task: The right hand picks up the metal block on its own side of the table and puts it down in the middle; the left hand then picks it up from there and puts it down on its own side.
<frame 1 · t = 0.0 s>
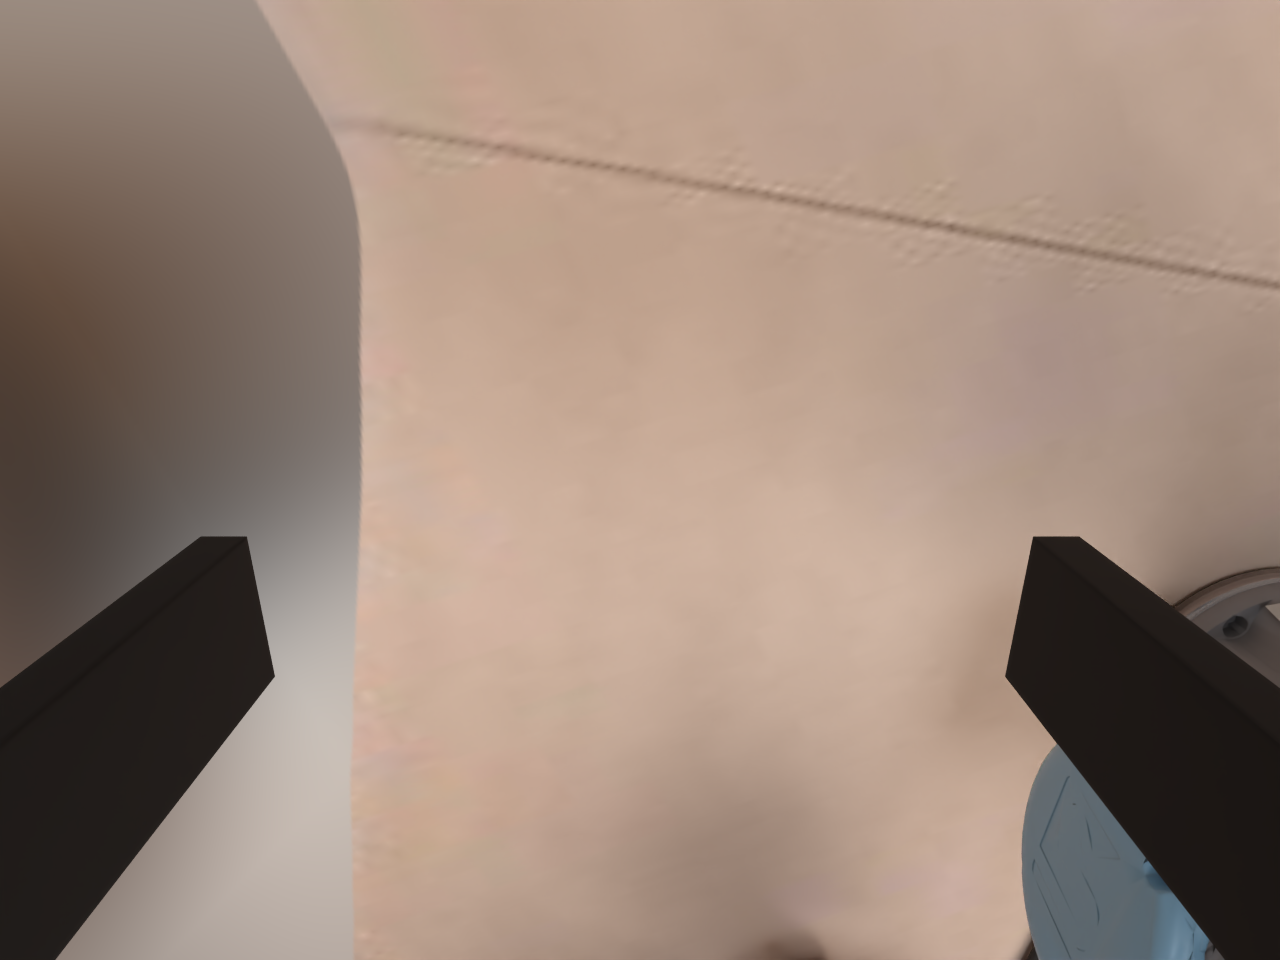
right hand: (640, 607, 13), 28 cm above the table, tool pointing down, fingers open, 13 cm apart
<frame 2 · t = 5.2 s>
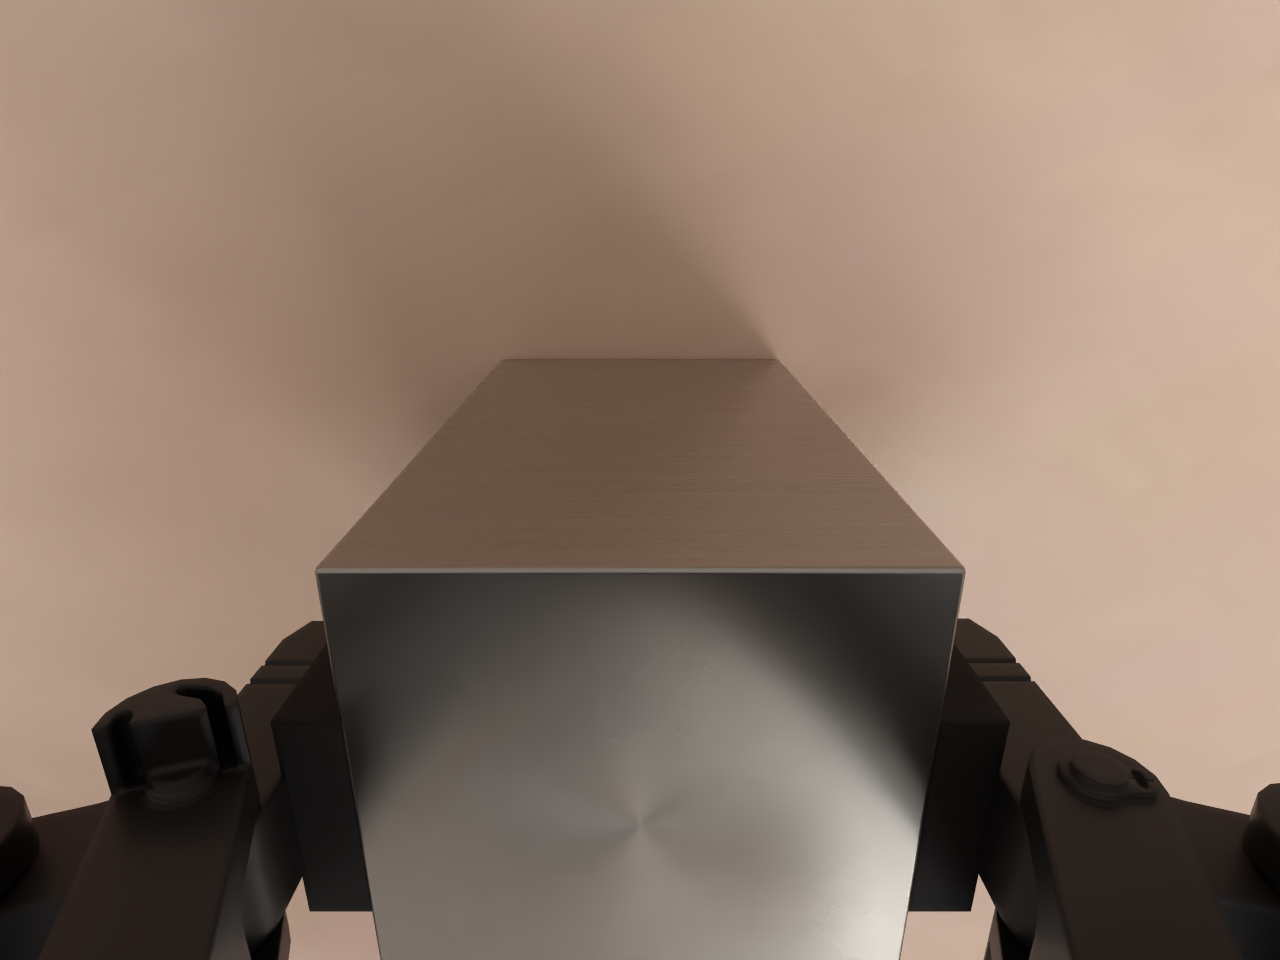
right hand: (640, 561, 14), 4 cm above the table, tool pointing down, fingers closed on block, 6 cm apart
block: (640, 489, 18), on the table, touching right hand
when the right hand's fingers open (5 cm above the table, at t = 13.5 s): block drops 1 cm, on the table.
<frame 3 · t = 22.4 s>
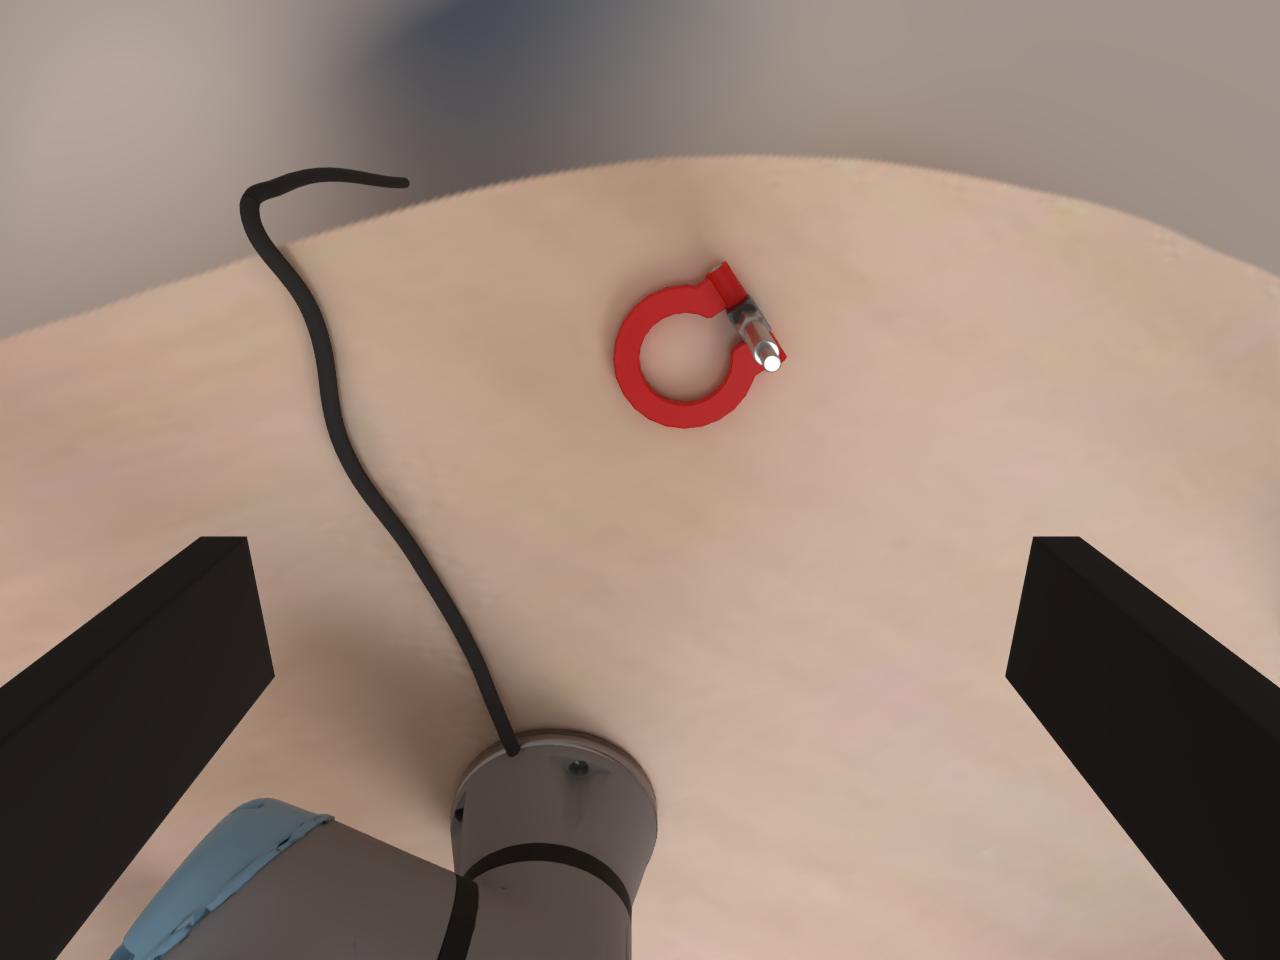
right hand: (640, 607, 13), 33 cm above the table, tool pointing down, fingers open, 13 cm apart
tow hook: (690, 352, 45), on the table
when the left hand's fingers open (5 cm above the table, at t = 32.6 s): block drops 1 cm, on the table.
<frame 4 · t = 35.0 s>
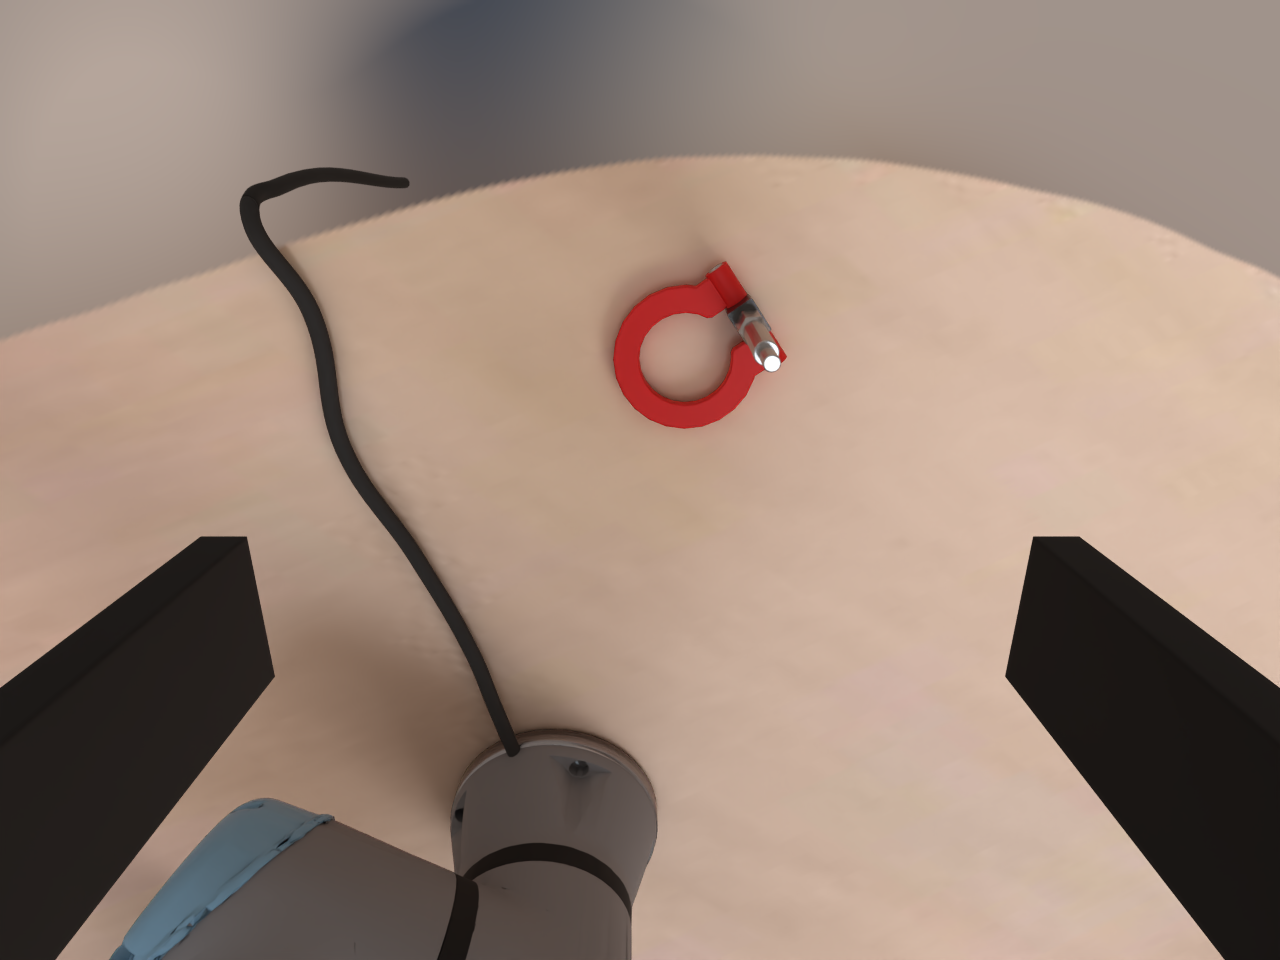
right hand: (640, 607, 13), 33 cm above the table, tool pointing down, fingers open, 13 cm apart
tow hook: (690, 352, 45), on the table
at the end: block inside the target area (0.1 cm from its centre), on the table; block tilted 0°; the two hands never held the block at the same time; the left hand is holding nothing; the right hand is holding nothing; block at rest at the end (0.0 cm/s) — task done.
